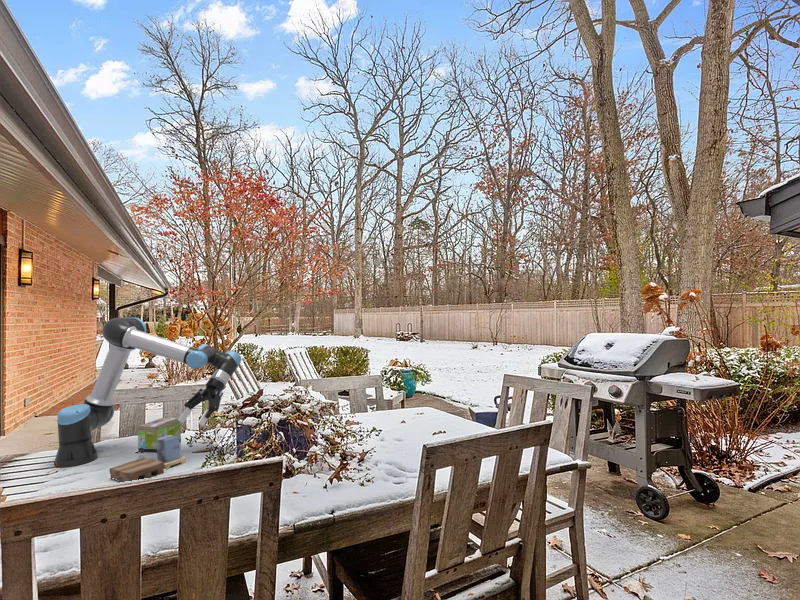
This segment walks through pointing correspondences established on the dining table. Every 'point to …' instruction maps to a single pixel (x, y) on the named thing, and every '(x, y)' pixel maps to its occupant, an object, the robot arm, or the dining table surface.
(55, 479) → the dining table surface
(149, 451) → the tea box
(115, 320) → the robot arm
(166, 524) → the dining table surface
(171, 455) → the pallet
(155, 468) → the block
